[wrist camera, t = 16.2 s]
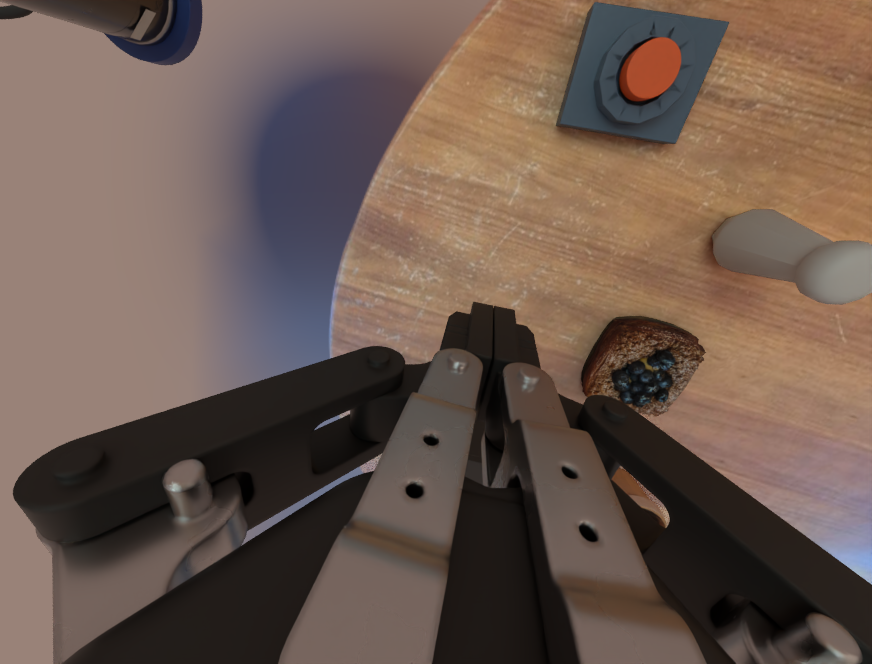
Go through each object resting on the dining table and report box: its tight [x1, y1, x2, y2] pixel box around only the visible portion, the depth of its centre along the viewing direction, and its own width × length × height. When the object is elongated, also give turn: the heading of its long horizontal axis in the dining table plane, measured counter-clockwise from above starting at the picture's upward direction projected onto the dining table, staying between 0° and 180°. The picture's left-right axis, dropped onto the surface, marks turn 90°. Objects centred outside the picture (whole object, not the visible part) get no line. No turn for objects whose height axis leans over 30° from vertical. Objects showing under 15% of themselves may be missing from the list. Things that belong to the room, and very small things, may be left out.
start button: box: [619, 37, 681, 102], centre depth 25 cm, size 4×4×2 cm
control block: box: [556, 2, 729, 144], centre depth 27 cm, size 10×8×4 cm
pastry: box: [581, 316, 706, 416], centre depth 39 cm, size 11×12×6 cm
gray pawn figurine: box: [712, 209, 872, 305], centre depth 28 cm, size 6×6×13 cm
